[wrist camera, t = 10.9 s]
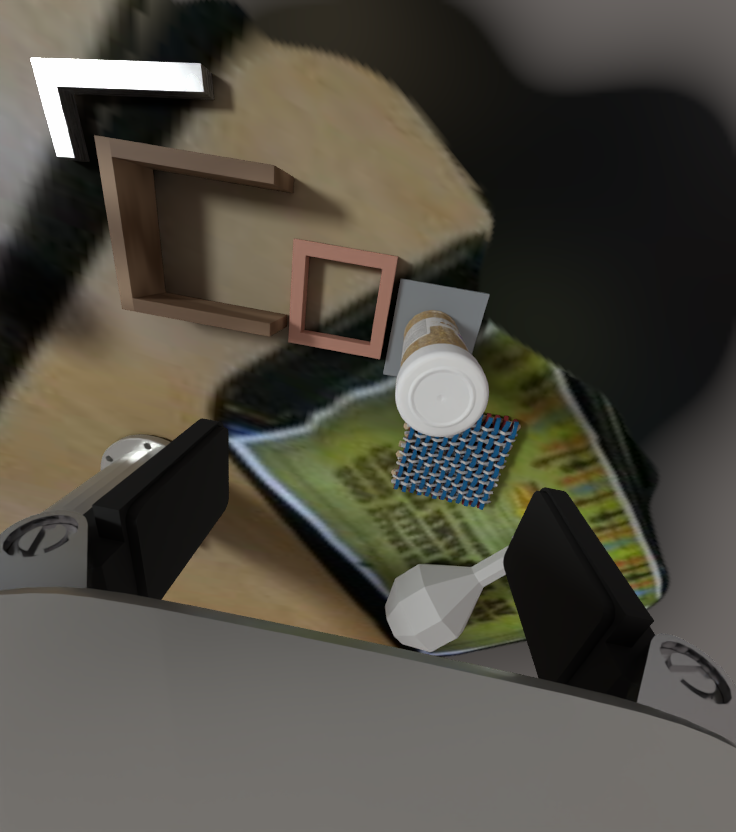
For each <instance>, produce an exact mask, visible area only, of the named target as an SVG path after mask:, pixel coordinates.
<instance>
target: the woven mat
mask: <svg viewBox="0 0 736 832" xmlns="http://www.w3.org/2000/svg"><path fill="white" fill-rule="evenodd" d="M491 416H492V414H490V413H488V414H487V415H483V414H482V416H481V417H480V418H479V420H478V421H477V422H476V423H475V424H474V425H473V426H471V427H470V428H468V429H467V430H465V431H463V432H461V433H459V434H456V435H452V436H448V437H442V439H439V437H432V436H428V435H422V433H420V432H418V431H417V433H415V432H414V429H413V428H412V427H410V426H409V425H408V424H407V423H404V428H405V429H406V430H407V429H409V431H405V436H406V437H407V438H405V437H403V439H404V440H406V442H404V441H400V443H399V446H401V447H404V450H403V452H402V451H401V450H400V451H399V450H398V452H397V453H396V456H397V457H398V459H401V460H398V461H397V464H398V465H399V469H393V470H392V472H391V473H392V475H393V479H392V480H391V481H392V483H395V484H394V488H393V489H398V486H399V485H402V488H401V490H402V492H405V491H406V487H407V488H408V489H409V490H408V491H409V492H410V493H413V492H414V490H415V489H416V490H417V492H416V494H417V495H421V492H424V495H425V496H429V494H430V493H431V497H432V498H434V499H436V497H437V496H439V499H441V500H444V498H445V497H447V498H446V500H447V501H448V502H452V500H453V499H454V500H456V503H458V504H459V503H460V501H461V500H462V504H463V505H464V506H468V502H469V500H470V502H469V505H471V507H475V506H476V505H477V508H479V509H481V510H483V507H484V504H485V503H486V504H488V503H490V502H491V501H487V500H488V499H490V496H489V495H491V494H493V491H490V490H491V489H492V488H493V487H496V486H497V485H498V484H496V483H495V482H494V481H499V479H497V478H499V476H500V474H501V473H499V469H503V468H504V467H505V466H502V465H503V464H504V462H505V463H506V460H504V459H505V457H507V456H509V455H510V454H507V452H508V451H510V450H511V449H512V446H513V445H511V442H515V440H513V439H515V436H516V437H517V436H518V434H516V432H517V431H518V430H519V429H520V428H521V425H520V424H519V422H518V420H517V419H514V420H513V421H509V420H508V418H509V416H504V419H501V418H500V415H496V416H495V417H491ZM482 421H483V422H484V423H483V424H482V425H481V422H482ZM491 423H492V426H491V428H489V427H490V425H491ZM500 425H501V427H500V430H499V426H500ZM509 427H510V428H509ZM508 428H509V430H508ZM507 430H508V432H506V431H507ZM469 432H471V433H470V434H469ZM476 435H478V436H476ZM486 437H487V439H486ZM448 439H450V440H448ZM494 439H495V440H494ZM457 440H459V442H457V443H456V441H457ZM412 442H414V444H413V443H412ZM465 442H466V443H465ZM474 443H476V444H475V446H473V444H474ZM419 444H422V445H419ZM483 444H484V446H483V448H482V445H483ZM427 446H431V447H427ZM445 446H446V447H445ZM437 447H438V449H436V448H437ZM491 447H492V449H491V450H490V448H491ZM409 449H412V453H410V452H409V453H408V450H409ZM417 451H420V455H419V454H417ZM453 451H455V452H453ZM425 454H427V455H428V456H425ZM478 454H480V455H478ZM470 455H471V456H470ZM433 457H435V458H433ZM495 457H497V458H495ZM441 458H444V459H443V460H442V459H441ZM406 460H407V461H409V462H406ZM449 460H451V461H449ZM458 461H459V462H460V463H458ZM415 463H417V464H415ZM431 463H433V464H431ZM422 464H424V465H422ZM467 464H468V465H467ZM475 464H476V466H475ZM474 466H475V467H474ZM403 467H407V470H403ZM491 469H492V470H491ZM411 470H413V471H414V472H411ZM490 470H491V471H490ZM455 471H456V472H455ZM420 473H421V474H420ZM428 474H429V475H430V476H428ZM480 474H481V475H480ZM396 475H397V476H396ZM401 475H403V476H405V477H401ZM394 477H395V478H394ZM409 477H412V479H411V478H409ZM435 477H436V478H435ZM443 478H445V479H443ZM417 479H420V481H416V480H417ZM487 479H488V480H487ZM452 480H453V481H452ZM460 480H461V483H460V482H459V481H460ZM409 481H411V482H409ZM426 481H428V482H426ZM467 483H468V484H467ZM476 484H477V485H476ZM475 485H476V486H475ZM484 485H485V486H484ZM449 486H451V487H450V488H448V487H449ZM457 488H458V489H457ZM464 490H466V491H464ZM473 491H474V492H473ZM477 502H478V503H477Z"/></svg>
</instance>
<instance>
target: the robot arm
mask: <svg viewBox="0 0 736 832" xmlns="http://www.w3.org/2000/svg"><path fill="white" fill-rule="evenodd" d="M228 500H229V460H228V429H227V428H223V424H222V423H221V422H218V421H213V420H208V419H200V420H198V421H197V422H196V423H194V424H193V425H192V426H191V427H189V428H188V429H187V430H186V431H184V432H183V433H182V434H181V435H179V436H178V437H177V438H176V439H174V440H173V441H172V442H170V441H167V440H165V439H162V438H159V437H155V436H151V435H141V434H139V435H130V436H127V437H124V438H122V439H120V440H118V441H117V442H115V443H113V444H112V445H111V446H110V447H109V448H108V449H107V450H106V451H105V453H104V454H103V457H102V461H101V471H100V472H99V473H97V474H96V475H94V476H93V477H91V478H90V479H89V480H87V481H86V482H84V483H83V484H82V485H80V486H79V487H77V488H76V489H74V490H73V491H72V492H70V493H69V494H67V495H66V496H64V497H63V498H62V499H60V500H59V501H57V502H56V503H55V504H53V505H52V506H50V507H49V508H47V509H46V510H45V511H43V512H42V513H40V514H37V515H33V516H30V517H28V518H26V519H23V520H21V521H19V522H17V523H15V524H14V525H12V526H10V527H9V528H7V529H6V530H5V531H3V532H2V533H1V534H0V832H736V686H735V684H734V682H733V681H732V680H731V678H730V677H729V676H728V675H727V674H726V672H725V671H724V670H723V669H722V668H721V667H720V666H719V665H718V664H717V663H716V662H715V661H714V660H713V659H712V658H711V657H710V656H708V655H707V654H705V653H704V652H703V651H701V650H700V649H699V648H697V647H696V646H694V645H692V644H691V643H689V642H687V641H685V640H684V639H681V638H678V637H676V636H673V635H669V634H658V635H655V634H654V632H653V631H652V629H651V628H650V625H651V624H652V623H653V622H654V620H653V618H652V617H651V616H650V614H649V613H648V611H647V610H646V608H645V607H644V605H643V604H642V602H641V601H640V599H639V598H638V596H637V595H636V594H635V592H634V591H633V589H632V588H631V586H630V585H629V583H628V582H627V580H626V579H625V577H624V576H623V574H622V573H621V572H620V570H619V569H618V567H617V566H616V564H615V563H614V561H613V560H612V558H611V557H610V555H609V554H608V552H607V551H606V550H605V548H604V547H603V545H602V544H601V542H600V541H599V539H598V538H597V536H596V535H595V533H594V532H593V530H592V529H591V528H590V526H589V525H588V523H587V522H586V520H585V519H584V517H583V516H582V514H581V513H580V511H579V510H578V508H577V507H576V506H575V504H574V503H573V501H572V500H571V498H570V497H569V495H568V494H567V493H566V492H564V491H560V490H555V489H551V488H546V487H545V488H542V489H541V490H540V491H536V492H535V493H534V494H533V496H532V498H531V500H530V502H529V504H528V506H527V509H526V511H525V513H524V515H523V517H522V519H521V521H520V523H519V525H518V527H517V529H516V532H515V534H514V536H513V538H512V540H511V542H510V544H509V546H508V548H507V550H506V553H505V555H504V559H503V566H504V570H505V573H506V576H507V580H508V583H509V586H510V589H511V592H512V595H513V599H514V602H515V605H516V608H517V611H518V614H519V618H520V621H521V624H522V627H523V630H524V633H525V637H526V640H527V643H528V646H529V649H530V652H531V655H532V659H533V662H534V665H535V668H536V671H537V675H538V678H534V677H530V676H525V675H521V674H516V673H511V672H507V671H502V670H497V669H493V668H487V667H484V666H479V665H474V664H470V663H465V662H461V661H456V660H451V659H447V658H442V657H437V656H433V655H428V654H423V653H419V652H414V651H409V650H404V649H400V648H395V647H390V646H385V645H381V644H376V643H371V642H366V641H362V640H357V639H352V638H347V637H343V636H338V635H333V634H328V633H323V632H319V631H314V630H309V629H304V628H300V627H295V626H290V625H285V624H280V623H275V622H270V621H265V620H260V619H255V618H250V617H246V616H241V615H236V614H231V613H226V612H221V611H216V610H211V609H206V608H201V607H197V606H191V605H186V604H181V603H175V602H170V601H164V600H161V599H162V598H163V597H164V595H165V594H166V592H167V591H168V590H169V588H170V587H171V585H172V584H173V582H174V581H175V580H176V578H177V577H178V575H179V574H180V573H181V571H182V570H183V568H184V567H185V566H186V564H187V563H188V561H189V560H190V559H191V557H192V556H193V554H194V553H195V552H196V550H197V549H198V547H199V546H200V545H201V543H202V542H203V540H204V539H205V537H206V536H207V535H208V533H209V532H210V530H211V529H212V528H213V526H214V525H215V523H216V522H217V521H218V519H219V518H220V516H221V515H222V514H223V512H224V511H225V509H226V507H227V504H228Z"/></svg>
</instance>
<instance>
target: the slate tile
mask: <svg viewBox="0 0 736 832" xmlns="http://www.w3.org/2000/svg"><path fill="white" fill-rule="evenodd" d="M489 295H490V294H487V293H482V292H476V291H470V290H465V289H459V288H454V287H448V286H442V285H437V284H431V283H425V282H420V281H414V280H409V279H403V278H401V280H400V286H399V291H398V296H397V302H396V307H395V313H394V318H393V323H392V329H391V334H390V340H389V345H388V351H387V356H386V361H385V367H384V372H383V374H385V375H390V376H396V377H397V376H398V373H399V370H400V368H401V358H402V350H403V342H404V331H405V328H406V326H407V324H408V323H409V321H410V320H411V319H412V318H413V317H414V316H415V315H417V314H419V313H422V312H424V311H429V310H437V311H441V312H443V313H445V314H447V315H449V316H450V317H451V318H452V319H453V320H454V321H455V324H456V326H457V327H458V331H459V333H460V335H461V337H462V339H463V341H464V343H465V345H466V346H467V348H468V351H469V353H470V354H471V355H472V352H473V348H474V345H475V342H476V338H477V335H478V332H479V328H480V325H481V322H482V318H483V315H484V312H485V308H486V305H487V302H488V298H489Z"/></svg>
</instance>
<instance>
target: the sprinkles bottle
mask: <svg viewBox="0 0 736 832" xmlns="http://www.w3.org/2000/svg"><path fill="white" fill-rule="evenodd" d="M488 397H489V387H488V382H487V379H486V376H485V374H484V372H483V370H482V368H481V366H480V365H479V363H478V361H477V360H476V359H475V358H474V357H473V356H472V355H471V354H470V353H469V351H468V348H467V346H466V345H465V343H464V341H463V339H462V337H461V335H460V333H459V331H458V327H457V326H456V324H455V321H454V320H453V319H452V318H451V317H450V316H449V315H447V314H445V313H443V312H441V311H437V310H429V311H424V312H422V313H419V314H417V315H415V316H414V317H413V318H412V319H411V320H410V321H409V323H408V324H407V326H406V328H405V331H404V342H403V350H402V358H401V368H400V370H399V373H398V376H397V381H396V391H395V399H396V405H397V408H398V411H399V413H400V415H401V417H402V418H403V420H404V421H405V422H406V423H407V424H408V425H409V426H410V427H412V428H413V429H414V430H416V431H418V432H420V433H422V434H425V435H428V436H434V437H448V436H452V435H456V434H459V433H461V432H463V431H465V430H467V429H468V428H470V427H471V426H473V425H474V424H475V423H476V422H477V421H478V420H479V418H480V417H481V416H482V414H483V412H484V411H485V409H486V406H487V402H488Z"/></svg>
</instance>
